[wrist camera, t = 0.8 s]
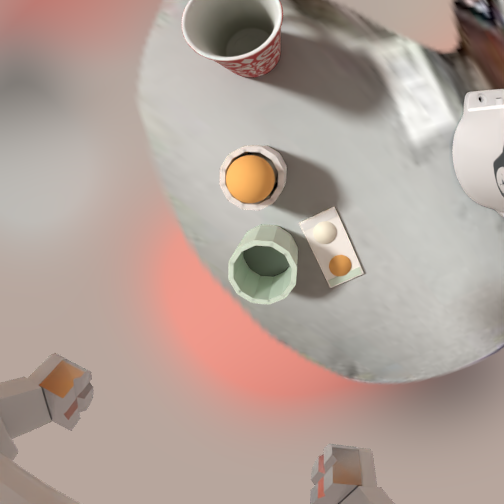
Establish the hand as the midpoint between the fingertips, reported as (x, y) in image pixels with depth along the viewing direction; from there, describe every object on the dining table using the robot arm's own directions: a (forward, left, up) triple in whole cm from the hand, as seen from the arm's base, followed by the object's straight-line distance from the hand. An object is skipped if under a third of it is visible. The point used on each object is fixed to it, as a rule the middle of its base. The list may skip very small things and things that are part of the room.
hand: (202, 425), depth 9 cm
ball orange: (0, -5, -29) cm, 30 cm away
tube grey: (0, -5, -34) cm, 35 cm away
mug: (-7, -21, -34) cm, 41 cm away
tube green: (+4, +5, -34) cm, 35 cm away
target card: (-4, +8, -34) cm, 35 cm away
